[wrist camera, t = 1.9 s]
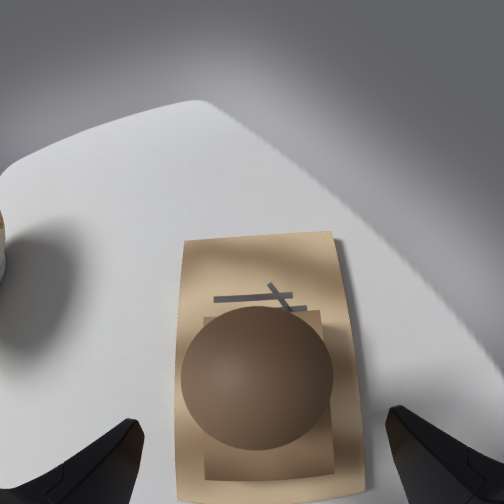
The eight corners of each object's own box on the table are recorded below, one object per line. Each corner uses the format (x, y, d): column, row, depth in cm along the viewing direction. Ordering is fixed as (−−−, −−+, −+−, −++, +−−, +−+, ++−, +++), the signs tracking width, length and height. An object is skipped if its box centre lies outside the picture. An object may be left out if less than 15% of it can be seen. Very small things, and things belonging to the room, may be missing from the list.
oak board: (360, 488, 13) (365, 491, 12) (181, 497, 13) (177, 500, 13) (329, 238, 24) (331, 230, 23) (187, 247, 24) (184, 240, 23)
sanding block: (326, 466, 14) (405, 531, 3) (213, 472, 14) (125, 539, 4) (314, 322, 19) (358, 202, 9) (211, 328, 19) (143, 217, 9)
